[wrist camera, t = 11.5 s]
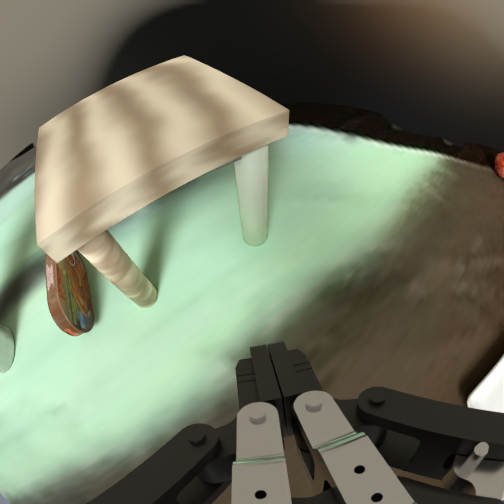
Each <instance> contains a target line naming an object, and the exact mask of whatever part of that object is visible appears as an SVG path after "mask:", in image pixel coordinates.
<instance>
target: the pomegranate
mask: <svg viewBox="0 0 504 504" xmlns="http://www.w3.org/2000/svg"><path fill="white" fill-rule="evenodd" d="M495 171H496V173H497V175H498V176H499V177H501V178H503V179H504V153H500V154H498V155H497V157H496V158H495Z"/></svg>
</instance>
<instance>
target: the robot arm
mask: <svg viewBox="0 0 504 504" xmlns="http://www.w3.org/2000/svg"><path fill="white" fill-rule="evenodd" d="M267 348H268V349H267ZM250 351H251V357H252V358H248V359H242V360H239V362H238V364H237V366H236V378H237V388H238V398H239V407H240V410H239V412H238V415H237V417H236V418H235V419H234V420H233V421H232V422H230V423H229V424H227V425H225V426H222V427H219V428H216V429H214V428H213V427H212V426H210V425H207V424H193V425H189V426H187V427H185V428H184V429H182V430H181V431H180V432H179V433H178V434H177V435H176V436H174V437H173V438H172V439H171V440H170V441H169V442H167V443H166V444H165V445H164V446H163V447H162V448H160V449H159V450H158V451H157V452H156V453H154V454H153V455H152V456H151V457H149V458H148V459H147V460H146V461H144V462H143V463H142V464H141V465H139V466H138V467H137V468H136V469H134V470H133V471H132V472H130V473H129V474H128V475H126V476H125V477H124V478H123V479H121V480H120V481H118V482H117V483H116V484H114V485H113V486H112V487H110V488H109V489H107V490H106V491H105V492H103V493H102V494H100V495H99V496H97V497H96V498H95V499H93V500H92V501H90V502H89V503H87V504H212V503H213V502H214V501H215V500H216V499H217V498H218V497H219V495H220V494H221V493H222V492H223V491H224V490H225V489H226V488H227V487H228V486H229V485H230V483H231V482H232V504H504V501H503V500H501V499H502V496H503V493H504V413H501V412H494V411H487V410H481V409H475V408H470V407H464V406H459V405H454V404H449V403H444V402H440V401H435V400H431V399H427V398H422V397H418V396H414V395H410V394H406V393H403V392H399V391H395V390H392V389H388V388H384V387H372V388H368V389H366V390H364V391H363V392H362V393H361V394H360V395H359V397H358V399H351V400H338V399H334V398H332V397H331V395H329V394H328V393H326V392H324V391H323V389H322V387H321V385H320V383H319V381H318V379H317V377H316V375H315V373H314V371H313V369H312V367H311V365H310V363H309V361H308V359H307V357H306V355H305V354H304V353H303V352H301V351H300V350H298V349H295V350H290V351H288V350H287V348H286V345H285V343H284V341H279V342H274V343H269V344H267V346H266V344H264V345H258V346H252V347H250ZM13 357H14V339H13V335H12V332H11V331H10V329H9V328H8V327H6V326H4V325H2V324H0V372H1V373H3V372H6V371H7V370H8V369H9V368H10V366H11V364H12V361H13ZM285 427H286V430H285ZM286 431H287V434H288V436H291V435H294V436H295V439H296V444H297V451H298V454H299V456H300V458H301V461H302V463H303V465H304V468H305V470H306V472H307V475H308V477H309V479H310V481H311V484H312V487H313V491H314V495H315V496H313V497H309V498H291V495H290V488H289V482H288V475H287V468H286V462H285V456H284V449H285V447H284V439H283V437H286ZM389 466H391V467H394V468H397V469H400V470H403V471H407V472H410V473H414V474H417V475H421V476H425V477H429V478H433V479H437V480H442V482H443V485H444V488H440V487H436V486H432V485H429V484H425V483H422V482H419V481H415V480H412V479H409V478H405V477H400V476H396V475H395V474H394V473H393V471H392V470H391V468H390V467H389Z"/></svg>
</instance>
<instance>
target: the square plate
mask: <svg viewBox="0 0 504 504" xmlns="http://www.w3.org/2000/svg"><path fill="white" fill-rule="evenodd" d="M467 405H468V407H470V408H475V409H481V410H487V411H494V412H501V413H504V354H503V356H502V357H501V358H500V360H499V361H498V362H497V363H496V365H495V366H494V367H493V368H492V370H491V371H490V372H489V373H488V374H487V375H486V376H485V378H484V379H483V380H482V381H481V382H480V383H479V384H478V385H477V387H476V388H475V389H474V390H473V391H472V392H471V394H470V395H469V396H468V399H467ZM501 500H504V493H503V496H502V499H501Z"/></svg>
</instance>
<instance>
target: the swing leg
mask: <svg viewBox="0 0 504 504" xmlns="http://www.w3.org/2000/svg"><path fill="white" fill-rule="evenodd" d="M233 162H234V169H235V177H236V185H237V193H238V202H239V210H240V218H241V226H242V234H243V239H244V241H245V242H246V243H247V244H248V245H251V246H259V245H262V244H263V243H264V242H265V241H266V240H267V237H268V144H267V145H265V146H262V147H260V148H258V149H255V150H253V151H251V152H249V153H247V154H244V155H242V156H240V157H238V158H236V159H234V160H232V161H229V162H227V163H225V164H223V165H221V166H219V167H217V168H215V169H213V170H216V169H218V168H221V167H223V166H225V165H228V164H230V163H233ZM213 170H211V171H213ZM211 171H209V172H211ZM209 172H207V173H209ZM205 174H206V173H205ZM203 175H204V174H203ZM201 176H202V175H201Z"/></svg>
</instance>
